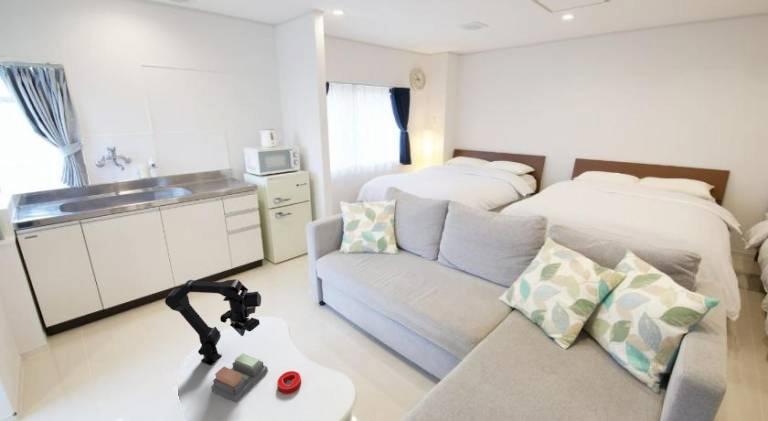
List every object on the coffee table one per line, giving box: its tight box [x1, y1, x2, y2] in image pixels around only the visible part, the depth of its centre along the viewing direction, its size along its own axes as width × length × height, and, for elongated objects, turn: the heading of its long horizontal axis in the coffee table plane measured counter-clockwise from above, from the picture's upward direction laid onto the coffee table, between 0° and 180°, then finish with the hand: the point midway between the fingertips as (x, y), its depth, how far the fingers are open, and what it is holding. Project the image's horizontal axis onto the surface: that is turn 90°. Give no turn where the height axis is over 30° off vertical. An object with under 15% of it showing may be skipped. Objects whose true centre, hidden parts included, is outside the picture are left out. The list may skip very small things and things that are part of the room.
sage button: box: [234, 352, 261, 371], centre depth 148 cm, size 10×4×4 cm, turn 65°
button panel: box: [210, 360, 269, 404], centre depth 145 cm, size 14×18×6 cm
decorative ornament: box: [276, 370, 302, 395], centre depth 143 cm, size 10×10×3 cm
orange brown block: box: [214, 366, 242, 388], centre depth 139 cm, size 10×4×4 cm, turn 65°
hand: (242, 335), depth 155 cm, fingers closed
